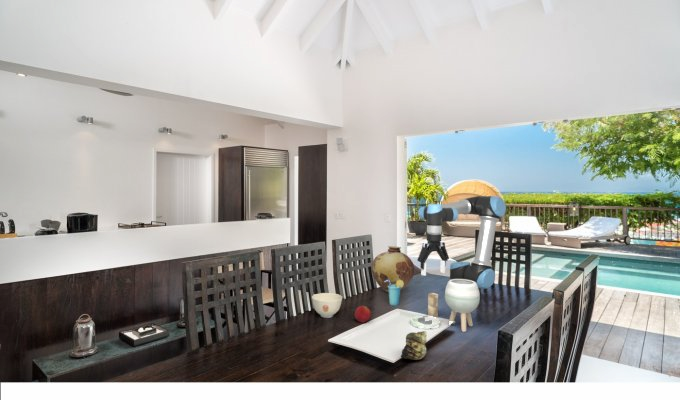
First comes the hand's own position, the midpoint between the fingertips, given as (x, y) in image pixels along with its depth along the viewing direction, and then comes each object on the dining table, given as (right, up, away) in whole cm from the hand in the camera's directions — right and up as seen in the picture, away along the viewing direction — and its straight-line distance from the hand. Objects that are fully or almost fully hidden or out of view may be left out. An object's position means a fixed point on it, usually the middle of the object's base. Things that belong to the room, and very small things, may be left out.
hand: (433, 274), depth 205 cm
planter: (+10, -23, -16) cm, 30 cm away
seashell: (-20, -23, -51) cm, 60 cm away
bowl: (-56, -22, 0) cm, 60 cm away
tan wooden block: (0, -23, 0) cm, 23 cm away
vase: (-15, -22, +50) cm, 56 cm away
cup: (-18, -22, +22) cm, 36 cm away
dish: (-7, -23, -12) cm, 26 cm away
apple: (-38, -22, -9) cm, 45 cm away
